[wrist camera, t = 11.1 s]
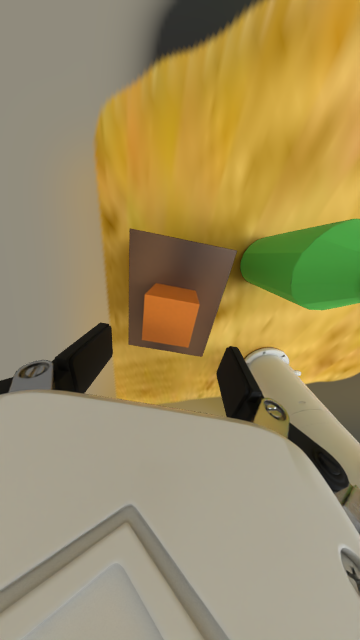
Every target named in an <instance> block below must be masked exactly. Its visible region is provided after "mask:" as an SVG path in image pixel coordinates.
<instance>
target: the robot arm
mask: <svg viewBox="0 0 360 640" xmlns="http://www.w3.org/2000/svg"><path fill="white" fill-rule="evenodd" d="M112 354H113V349H112V330H111V326H109V324H106V323H99V324H98V325H97V326H95V327H94V328H93V329H91V330H90V331H89V332H87V333H86V334H85V335H84V336H82V337H81V338H80V339H78V340H77V341H76V342H74V343H73V344H72V345H71V346H69V347H68V348H67V349H65V350H64V351H63V352H61V353H60V354H59V355H58V356H56V357H55V359H54V360H53V361H52V362H51V361H48V360H39V361H34V362H31V363H29V364H26V365H24V366H23V367H21V368H20V369H18V371H16V373H15V375H14V377H12V378H9V379H5V380H1V381H0V640H360V443H359V442H358V441H357V440H356V439H355V438H354V437H353V436H352V435H351V434H350V433H349V432H348V431H347V430H346V429H345V428H344V427H343V426H342V424H341V423H340V422H339V421H338V420H337V419H336V418H335V417H334V416H333V415H332V414H331V413H330V411H329V410H328V409H327V408H326V407H325V406H324V405H323V404H322V403H321V402H320V401H319V399H318V398H317V397H316V396H315V395H314V394H313V393H312V392H311V391H310V390H309V389H308V387H307V386H306V385H305V384H304V383H303V382H302V381H301V379H300V378H299V377H298V376H300V375H301V372H300V371H298V370H293V369H292V368H291V367H290V366H289V359H288V357H287V355H286V354H285V353H284V352H283V351H281V350H279V349H276V348H263V349H259V350H257V351H254V352H253V353H251V354H250V355H248V356H247V357H246V359H245V360H244V358H243V356H242V355H241V353H240V351H239V349H238V348H237V347H232V346H230V347H229V348H226V351H225V353H224V356H223V358H222V360H221V363H220V365H219V368H218V370H217V379H218V383H219V387H220V391H221V396H222V400H223V404H224V408H225V412H226V416H227V417H223V416H218V415H212V414H207V413H201V412H195V411H189V410H183V409H177V408H171V407H165V406H159V405H153V404H147V403H141V402H134V401H128V400H122V399H116V398H109V397H103V396H97V395H89V394H84V393H85V392H86V390H87V389H88V388H89V386H90V385H91V384H92V382H93V381H94V380H95V378H96V377H97V376H98V374H99V373H100V372H101V370H102V369H103V368H104V366H105V365H106V364H107V362H108V361H109V360H110V358H111V357H112Z"/></svg>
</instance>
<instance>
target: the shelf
mask: <svg viewBox="0 0 360 640" xmlns="http://www.w3.org/2000/svg"><path fill="white" fill-rule="evenodd" d="M236 253H237V250H232V249H227V248H222V247H217V246H212V245H208V244H203V243H198V242H193V241H188V240H183V239H179V238H174V237H169V236H164V235H159V234H154V233H150V232H145V231H140V230H135V229H130V242H129V345H134V346H140V347H146V348H152V349H158V350H164V351H170V352H176V353H182V354H188V355H194V356H200V357H202V356H203V353H204V350H205V347H206V344H207V341H208V338H209V335H210V332H211V329H212V326H213V323H214V320H215V317H216V313H217V310H218V307H219V304H220V301H221V298H222V295H223V292H224V289H225V286H226V283H227V280H228V277H229V274H230V271H231V268H232V265H233V262H234V259H235V256H236ZM156 283H158V284H163V285H168V286H174V287H179V288H184V289H189V290H195V291H196V293H197V297H198V300H199V304H200V305H199V309H198V313H197V317H196V320H195V324H194V328H193V332H192V336H191V340H190V343H189V347H188V348H187V347H181V346H175V345H169V344H163V343H157V342H151V341H145V340H142V329H143V314H144V298H145V294H146V293H147V292H148V291H149V290H150V289H151V288H152V287H153V286H154V285H155V284H156Z"/></svg>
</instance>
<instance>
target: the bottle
mask: <svg viewBox="0 0 360 640" xmlns="http://www.w3.org/2000/svg"><path fill="white" fill-rule="evenodd" d="M240 270H241V273H242V276H243V277H244V279H245V280H246V281H247V282H250V283H252V284H254V285H256V286H258V287H260V288H263V289H265V290H267V291H269V292H271V293H274V294H276V295H278V296H280V297H282V298H285V299H287V300H289V301H291V302H293V303H296V304H298V305H300V306H302V307H304V308H307V309H309V310H327V309H332V308H337V307H342V306H347V305H352V304H357V303H360V219H351V220H346V221H341V222H336V223H331V224H326V225H322V226H317V227H312V228H307V229H302V230H297V231H293V232H288V233H283V234H278V235H274V236H269V237H265V238H262V239H259V240H257V241H255V242H254V243H253V244H251V245H250V246H249V247H248V249H247V250H246V251H245V253H244V254H243V257H242V260H241V267H240Z"/></svg>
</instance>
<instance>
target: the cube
mask: <svg viewBox="0 0 360 640" xmlns="http://www.w3.org/2000/svg"><path fill="white" fill-rule="evenodd" d="M199 305H200V304H199V300H198V297H197V293H196V291H195V290H189V289H184V288H179V287H174V286H168V285H163V284H158V283H156V284H155V285H154V286H153V287H152V288H151V289H150V290H149V291H148V292H147V293H146V294H145V298H144V314H143V329H142V340H145V341H151V342H157V343H163V344H169V345H175V346H181V347H187V348H188V347H189V343H190V340H191V336H192V332H193V328H194V324H195V320H196V317H197V313H198V309H199Z"/></svg>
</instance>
